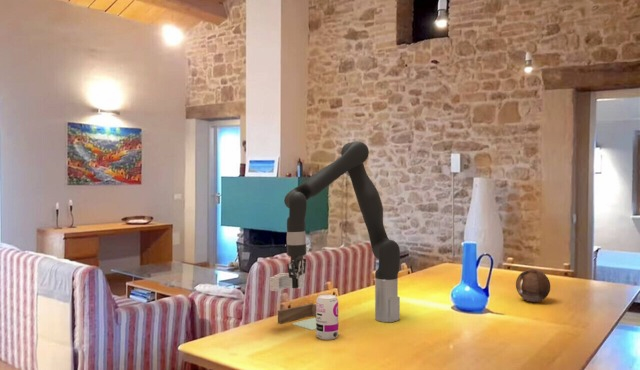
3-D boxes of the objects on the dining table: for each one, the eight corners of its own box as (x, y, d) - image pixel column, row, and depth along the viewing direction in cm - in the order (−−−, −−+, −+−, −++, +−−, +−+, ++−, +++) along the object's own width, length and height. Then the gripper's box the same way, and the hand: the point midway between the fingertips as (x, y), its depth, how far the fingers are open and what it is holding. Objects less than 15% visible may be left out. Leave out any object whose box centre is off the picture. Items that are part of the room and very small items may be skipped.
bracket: (304, 286, 209) (303, 273, 208) (293, 292, 199) (293, 278, 199) (281, 285, 212) (280, 272, 212) (269, 290, 203) (269, 277, 203)
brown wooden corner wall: (334, 320, 219) (334, 308, 219) (299, 330, 206) (299, 317, 206) (312, 314, 229) (311, 302, 229) (277, 323, 216) (277, 310, 216)
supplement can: (341, 334, 200) (340, 294, 200) (334, 341, 192) (334, 299, 192) (320, 332, 203) (320, 293, 202) (313, 339, 195) (313, 298, 194)
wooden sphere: (544, 298, 257) (544, 267, 257) (554, 305, 242) (555, 272, 242) (512, 297, 259) (512, 266, 258) (520, 305, 244) (520, 272, 243)
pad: (334, 324, 214) (334, 323, 214) (312, 330, 206) (312, 329, 206) (313, 318, 223) (313, 317, 223) (291, 324, 214) (291, 323, 214)
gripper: (298, 245, 199) (299, 291, 200) (312, 240, 212) (313, 283, 213) (279, 245, 202) (281, 290, 202) (294, 240, 215) (296, 282, 215)
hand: (297, 286), depth 208 cm, fingers closed on bracket, 4 cm apart
